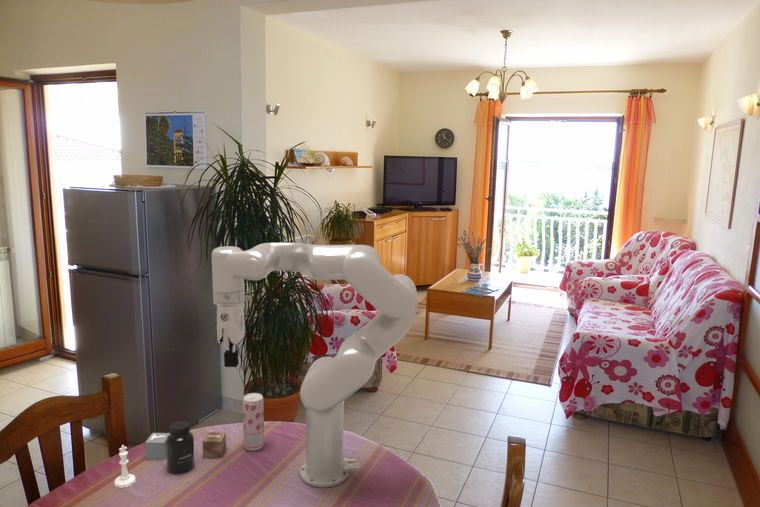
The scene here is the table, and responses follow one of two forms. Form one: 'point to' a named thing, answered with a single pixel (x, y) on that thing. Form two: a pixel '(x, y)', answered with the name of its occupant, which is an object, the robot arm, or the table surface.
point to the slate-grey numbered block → (156, 446)
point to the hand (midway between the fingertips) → (231, 365)
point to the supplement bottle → (180, 448)
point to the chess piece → (124, 471)
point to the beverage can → (253, 421)
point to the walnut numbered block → (214, 445)
